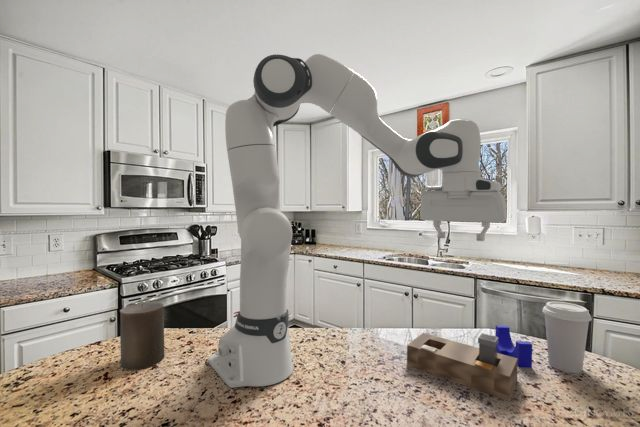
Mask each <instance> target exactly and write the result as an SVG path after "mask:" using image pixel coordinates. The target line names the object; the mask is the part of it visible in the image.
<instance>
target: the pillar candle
mask: <svg viewBox="0 0 640 427" xmlns="http://www.w3.org/2000/svg"><path fill="white" fill-rule="evenodd" d="M164 307H165V306H164V303H163V302H159V301H147V302H146V301H145V302H144V301H143V302H139V303H135V304H130V305H126V306H124V307H122V308H121V309H119V313H120V317H119V318H120V340H119V342H120V347H119V348H120V367H121V368H122V369H124V370H130V371H131V370H143V369H147V368H150V367H152V366H155V365H157V364H159V363H160V362H162V361H163V359H164V358H165V317H164V316H165V314H164V313H165V309H164Z"/></svg>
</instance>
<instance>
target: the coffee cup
mask: <svg viewBox="0 0 640 427" xmlns="http://www.w3.org/2000/svg"><path fill="white" fill-rule="evenodd" d="M542 313H543V314H544V320H545V321H544V323H545V333H546V345H547V356H548V357H547V358H548V364H549V365H550V366H551V367H552V368H554V369H556V370H559V371H561V372H565V373H570V374H581V373H582V372H583V366H584V360H585V352H586V345H587V339H588V331H589V324H590V322H591V321H592V320H593V319H592V315H591V314H590V313H589V310H588V309H587V308H586V307H584V306H582V305H578V304H576V303H569V302H567V301H566V302H565V301H547V302H546V303H545V305H544V306H543V308H542Z"/></svg>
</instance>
